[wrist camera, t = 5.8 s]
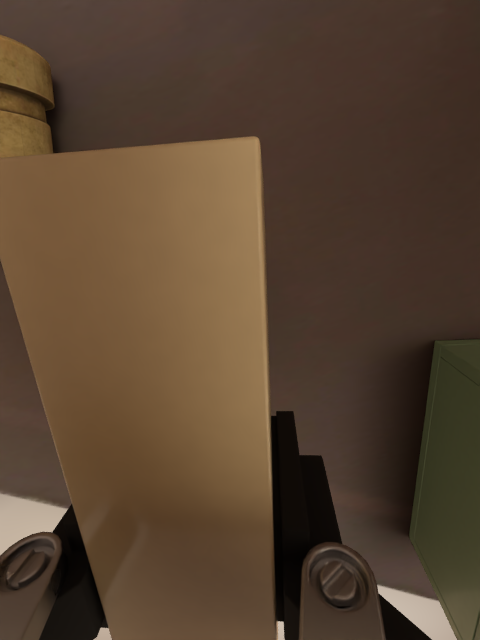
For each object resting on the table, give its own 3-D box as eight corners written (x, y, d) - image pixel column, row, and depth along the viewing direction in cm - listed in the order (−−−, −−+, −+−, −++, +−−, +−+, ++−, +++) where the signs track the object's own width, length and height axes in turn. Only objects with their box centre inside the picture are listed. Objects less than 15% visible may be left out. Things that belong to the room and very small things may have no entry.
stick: (263, 179, 8) (260, 134, 3) (277, 609, 13) (282, 809, 8) (126, 189, 8) (-32, 159, 4) (192, 605, 13) (156, 794, 9)
